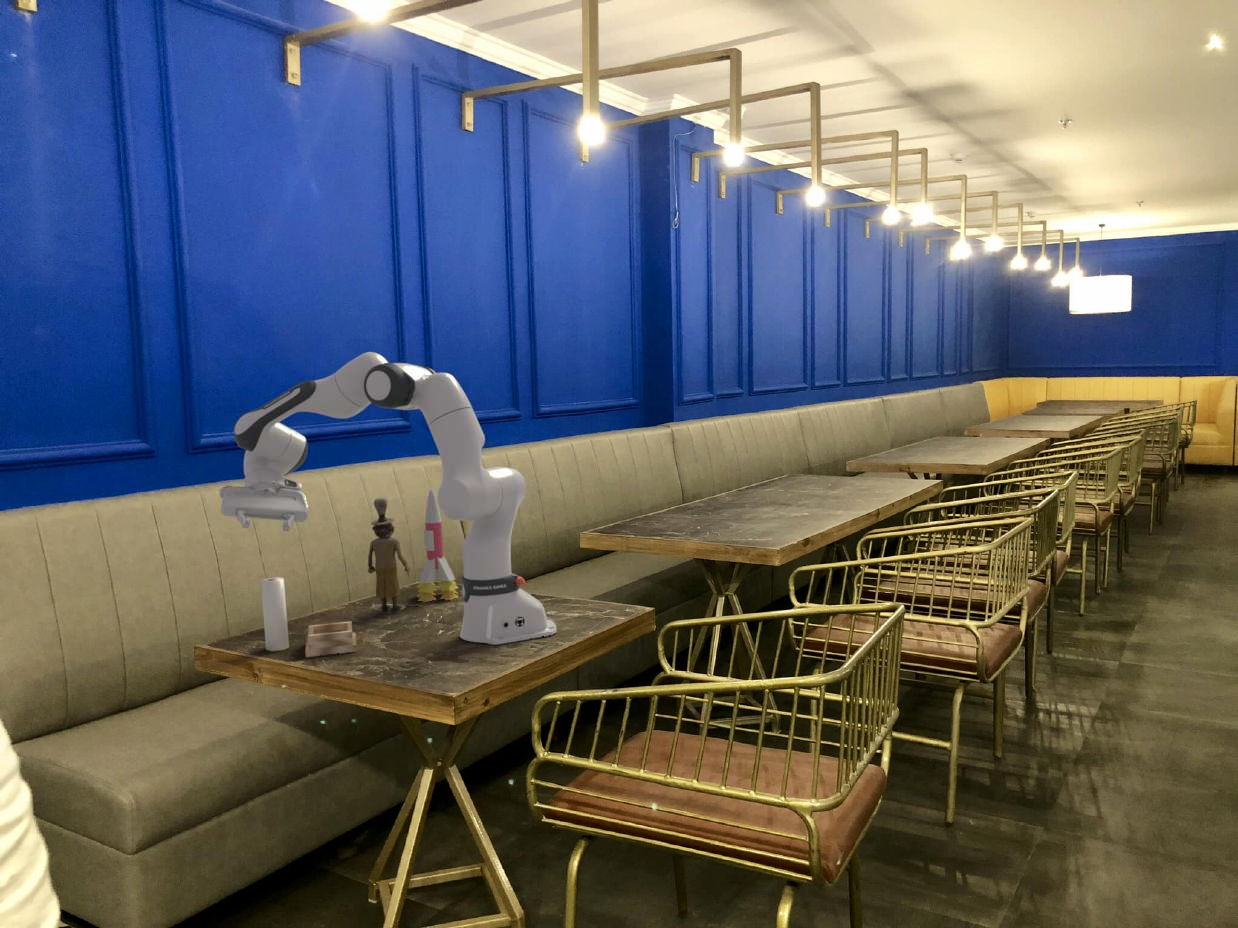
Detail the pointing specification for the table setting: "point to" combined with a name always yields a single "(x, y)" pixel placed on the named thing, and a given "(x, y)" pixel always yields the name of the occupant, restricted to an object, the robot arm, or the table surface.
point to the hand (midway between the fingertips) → (266, 527)
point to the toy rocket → (435, 557)
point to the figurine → (386, 559)
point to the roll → (274, 614)
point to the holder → (330, 639)
